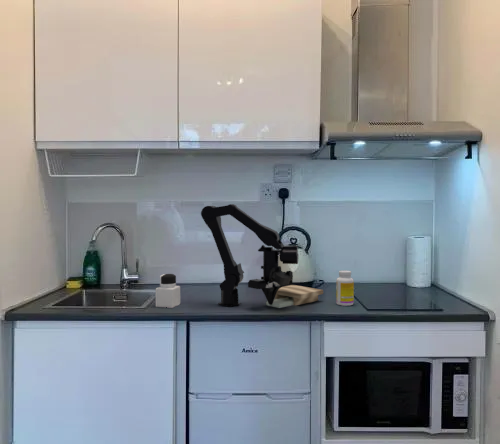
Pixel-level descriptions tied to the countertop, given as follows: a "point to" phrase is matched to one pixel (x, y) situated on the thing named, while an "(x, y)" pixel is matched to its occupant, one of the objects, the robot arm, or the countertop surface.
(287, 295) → the overhang
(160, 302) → the medicine bottle
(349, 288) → the supplement bottle
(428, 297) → the countertop surface
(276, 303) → the sage plate
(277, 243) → the robot arm
